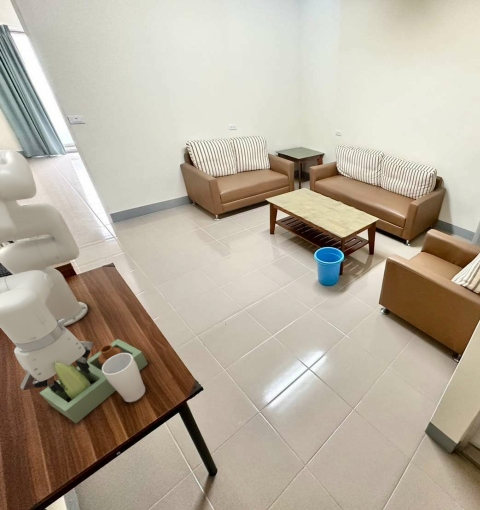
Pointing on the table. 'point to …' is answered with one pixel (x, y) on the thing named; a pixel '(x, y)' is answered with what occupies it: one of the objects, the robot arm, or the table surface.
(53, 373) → the robot arm
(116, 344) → the caddy
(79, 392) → the tube
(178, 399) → the table surface
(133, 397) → the white cup
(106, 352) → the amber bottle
